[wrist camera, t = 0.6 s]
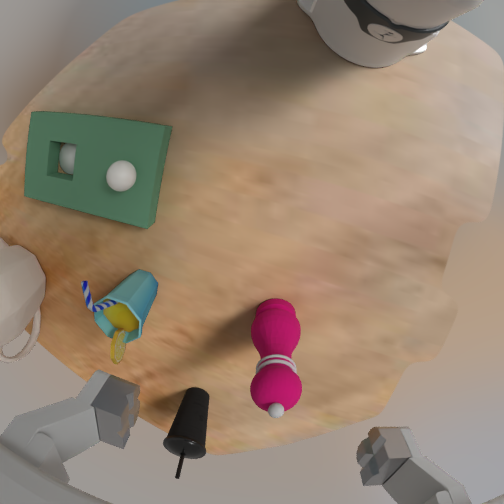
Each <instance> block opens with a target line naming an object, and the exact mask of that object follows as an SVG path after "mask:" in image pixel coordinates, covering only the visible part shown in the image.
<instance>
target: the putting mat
mask: <svg viewBox="0 0 504 504" xmlns="http://www.w3.org/2000/svg"><path fill="white" fill-rule="evenodd" d="M171 131H172V126H167V125H161V124H155V123H149V122H142V121H136V120H129V119H122V118H114V117H106V116H97V115H87V114H76V113H64V112H49V111H36V112H31V119H30V126H29V134H28V143H27V153H26V167H25V190H24V196H26V197H29V198H33V199H37V200H40V201H44V202H48V203H52V204H55V205H59V206H63V207H67V208H70V209H74V210H78V211H82V212H85V213H89V214H93V215H97V216H100V217H104V218H108V219H112V220H115V221H119V222H123V223H127V224H130V225H134V226H138V227H142V228H146V229H148V228H149V227H150V226H151V225H152V224H153V223H155V217H156V210H157V204H158V198H159V192H160V186H161V181H162V175H163V170H164V164H165V159H166V154H167V149H168V145H169V140H170V135H171ZM61 142H65V143H66V144H65V145H64V146H63V147H62V148H61V151H60V145H61ZM59 153H60V154H59ZM120 160H124V161H128V162H130V163H131V164H132V165H133V166H134V168H135V170H136V181H135V183H134V185H133V186H132V187H131V188H130V189H128V190H126V191H121V192H119V191H115V190H113V189H112V188H111V187H110V186H109V185H108V183H107V179H106V174H107V171H108V169H109V167H110V166H111V165H112V164H113V163H114V162H117V161H120ZM59 162H60V166H61V168H62V169H63V171H64V172H66V173H68V174H64V173H59V172H58V163H59ZM69 174H73V175H69Z"/></svg>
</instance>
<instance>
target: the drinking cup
mask: <svg viewBox="0 0 504 504" xmlns="http://www.w3.org/2000/svg"><path fill="white" fill-rule="evenodd" d="M208 406H209V394H208V393H207V392H206V391H205V390H203V389H200V388H189V389H188V390H187V391H186V393H185V396H184V398H183V400H182V403H181V405H180V407H179V410H178V412H177V414H176V417H175V419H174V421H173V424H172V426H171V428H170V431H169V433H168V436H167V437H166V438H165V439H164V442H163V445H164V447H165V448H166V449H167V450H168V451H169V452H171V453H173V454H175V455H177V456H180V460H179V464H178V468H177V472H176V476H175V478H177V479H179V477H180V473H181V469H182V464H183V460H184V458H190V459H197V458H201V457H203V456H204V455H205V454H206V448H205V441H206V429H207V417H208Z"/></svg>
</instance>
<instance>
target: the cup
mask: <svg viewBox="0 0 504 504" xmlns="http://www.w3.org/2000/svg"><path fill="white" fill-rule="evenodd" d="M81 285H82V289H83V293H84V297H85V301H86V305H87V308H88V309H89V310H90V311H92V312H94V318H95V322H96V323H97V324H98V326H99V327H100V328H101V329H102V331H103V332H104V333H105V334H106V335H107V337H110V338H113V339H112V342H111V353H110V358H111V360H112V361H113V363H114V364H118V363H119V362H120V361H121V360H122V358H123V355H124V352H125V348H126V343H128V342H131V341H133V340H135V339H137V338H140V337H141V334H142V327H143V324H144V322H145V320H146V317H147V315H148V313H149V310H150V308H151V306H152V303H153V301H154V299H155V297H156V294H157V288H158V282H157V281H156V280H155V278H154V277H153V275H152V274H151V273H150V272H146V271H143V270H140V269H139V270H137V271H135V272H134V273H132V274H130V275H129V276H128V277H127V278H126V279H125V280H123V281H122V282H121V283H120V284H119V285H118V286H117V287H115V288H114V289H113V290H112V291H111V292H110V293H109V294H108V295H106V296H105V297H103V298H102V299H100V300H98V301H97V302H96V303H94V305H93V301H92V297H91V294H90V290H89V286H88V282H87V281H82V282H81Z"/></svg>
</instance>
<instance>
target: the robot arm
mask: <svg viewBox="0 0 504 504" xmlns="http://www.w3.org/2000/svg"><path fill="white" fill-rule="evenodd" d="M483 1H484V0H297V3H298V5H299V7H300V8H301V9H302V10H303V11H304V12H305V13H306V14H307V15H309V16H310V17H311V19H312V20H313V22H314V24H315V27H316V29H317V31H318V33H319V35H320V36H321V38H322V39H323V40H324V42H325V43H326V44H327V45H328V46H329V47H330V48H331V49H332V50H333V51H334V52H336V53H337V54H338V55H340V56H341V57H343V58H344V59H346V60H348V61H350V62H353V63H355V64H358V65H361V66H366V67H374V68H379V67H387V66H390V65H393V64H395V63H397V62H399V61H400V60H401V59H403V58H404V57H406V56H408V55H416V54H421V53H423V52H424V51H425V50H426V49H427V43H428V42H429V41H431V40H432V39H433V38H435V37H436V36H437V35H438V33H439V31H440V30H441V29H442V28H444V27H445V26H446V25H447V24H448V22H449V21H450V20H452V19H454V18H456V17H458V16H460V15H462V14H464V13H467V12H469V11H471V10H473V9H475V8H477V7H479V6H480V5H481V3H482V2H483ZM139 394H140V386H139V385H137V384H135V383H132V382H129V381H127V380H124V379H121V378H119V377H116V376H114V375H111V374H108V373H106V372H103V371H101V370H97V371H95V372H94V374H93V375H92V376H91V378H90V379H89V381H88V382H87V384H86V385H85V386H84V388H83V389H82V391H81V392H80V393H79V395H78V396H77V397H76V399H74V398H69V399H66V400H63V401H60V402H57V403H54V404H51V405H48V406H46V407H42V408H39V409H37V410H34V411H30V412H27V413H24V414H21V415H18V416H16V417H15V418H14V419H13V420H12V422H11V423H10V424H9V425H8V427H7V428H6V429H5V430H4V432H3V433H2V434H1V436H0V504H111V503H109V502H107V501H104V500H102V499H99V498H96V497H95V496H92V495H90V494H88V493H86V492H83V491H81V490H79V489H77V488H75V487H73V486H71V485H69V484H68V481H69V476H68V474H67V472H66V470H65V468H64V465H63V462H65V461H67V460H68V459H70V458H72V457H74V456H76V455H78V454H80V453H81V452H83V451H85V450H87V449H88V448H90V447H92V446H94V445H95V444H97V443H99V442H100V441H103V442H105V443H108V444H111V445H114V446H116V447H119V448H122V449H124V447H125V445H126V442H127V440H128V438H129V436H130V428H131V427H133V426H134V425H135V422H136V420H137V417H138V413H139V408H140V401H139V400H138V396H139ZM368 436H369V437H368V438H367V439H364V440H363V441H362V442H361V444H360V445H359V446H358V450H357V462H358V464H360V466H361V467H362V469H361V471H360V474H361V478H362V483H363V486H369V485H382V486H383V487H384V489H385V490H386V491H387V492H388V493H389V494H390V495H391V497H392V498H393V499H394V500H395V501H396V502H397V503H398V504H471V501H470V499H469V497H468V494H467V492H466V490H465V488H464V485H463V484H461V483H460V482H459V481H457V480H456V479H455V478H453V477H452V476H451V475H449V474H448V473H447V472H445V471H444V470H443V469H441V468H440V467H439V466H438V465H436V464H435V463H434V462H432V461H431V460H430V459H428V458H427V457H426V456H422V453H421V451H420V449H419V446H418V444H417V442H416V440H415V437H414V435H413V433H412V431H411V429H410V428H409V427H374V428H372V429H371V430H370V431H369V433H368ZM482 504H504V494H503V495H501V496H499V497H496V498H494V499H492V500H489V501H488V502H485V503H482Z"/></svg>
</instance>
